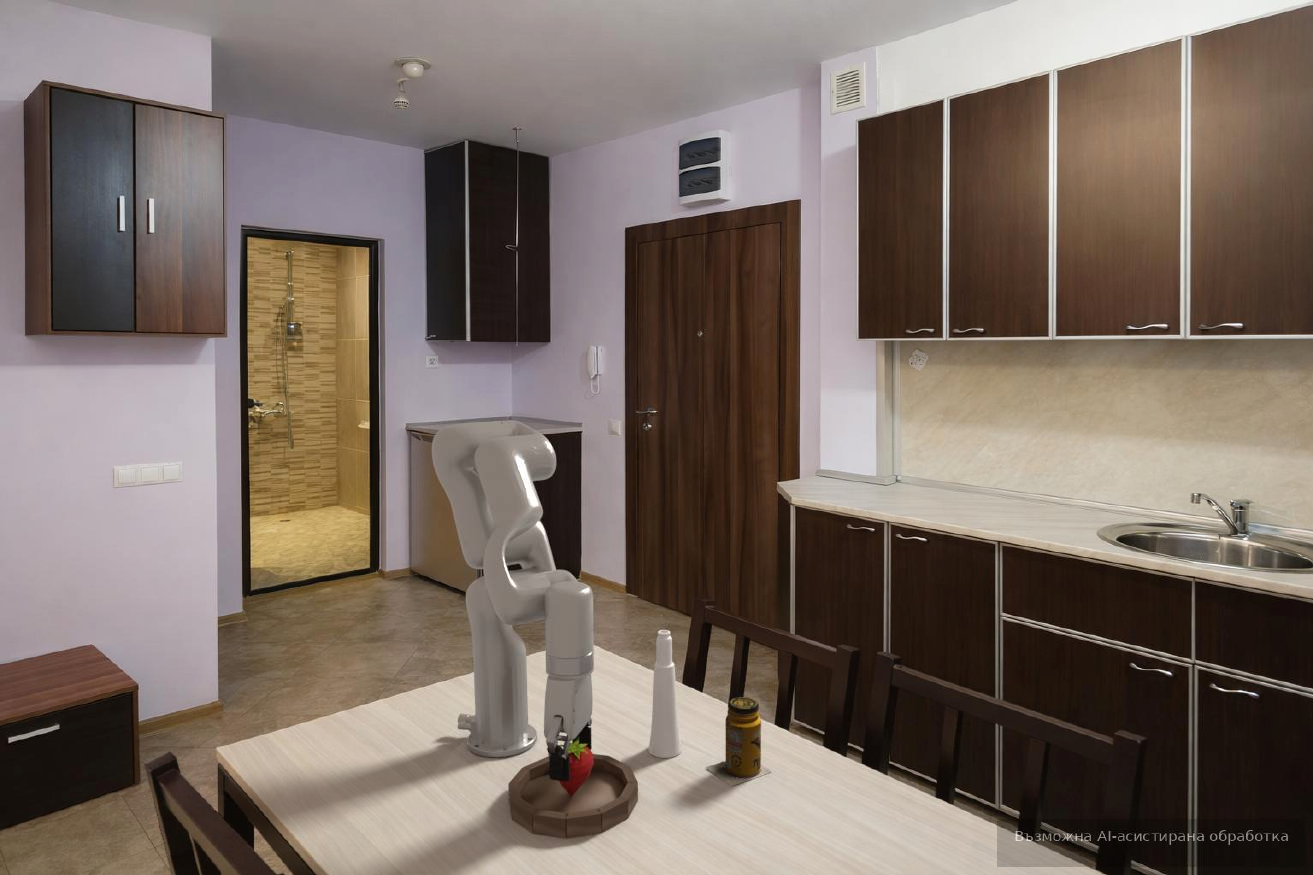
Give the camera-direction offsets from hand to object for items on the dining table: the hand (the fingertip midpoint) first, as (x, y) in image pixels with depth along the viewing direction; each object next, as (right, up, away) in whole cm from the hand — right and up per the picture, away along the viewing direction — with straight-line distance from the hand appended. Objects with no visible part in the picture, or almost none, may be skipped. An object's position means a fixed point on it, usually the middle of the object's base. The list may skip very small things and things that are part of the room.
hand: (571, 764), depth 133 cm
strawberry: (0, -5, 0) cm, 5 cm away
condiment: (+28, -5, +9) cm, 30 cm away
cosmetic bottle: (+15, -4, +17) cm, 23 cm away
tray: (0, -6, 0) cm, 6 cm away
